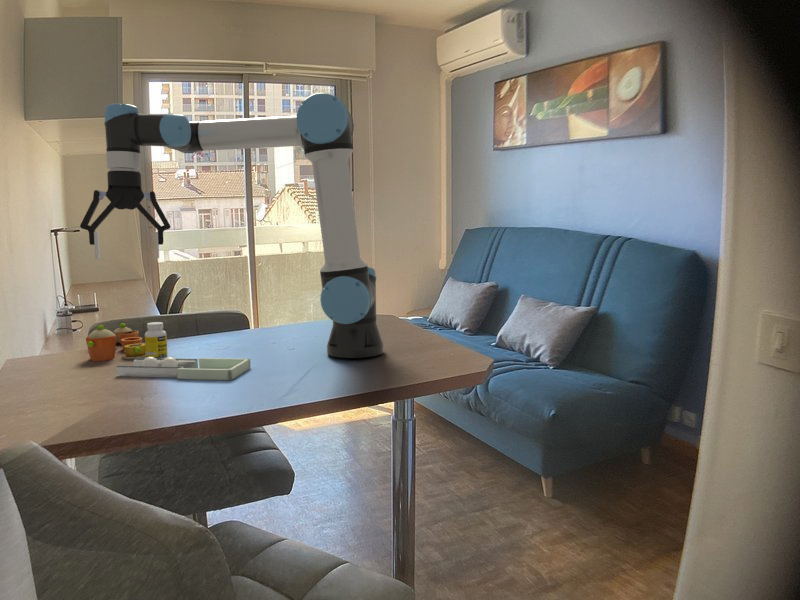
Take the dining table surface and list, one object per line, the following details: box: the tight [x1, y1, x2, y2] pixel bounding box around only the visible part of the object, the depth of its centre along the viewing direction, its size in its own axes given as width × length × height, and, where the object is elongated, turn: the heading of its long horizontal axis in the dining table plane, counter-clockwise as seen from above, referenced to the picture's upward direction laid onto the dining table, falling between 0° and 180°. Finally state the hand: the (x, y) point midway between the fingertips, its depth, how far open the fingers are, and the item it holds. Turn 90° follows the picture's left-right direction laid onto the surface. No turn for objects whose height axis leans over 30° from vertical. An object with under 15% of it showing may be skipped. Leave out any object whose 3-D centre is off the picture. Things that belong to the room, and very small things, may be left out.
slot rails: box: [116, 357, 199, 379], centre depth 153 cm, size 16×9×2 cm, turn 82°
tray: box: [177, 357, 251, 381], centre depth 151 cm, size 13×12×2 cm
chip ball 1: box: [142, 357, 159, 366], centre depth 153 cm, size 4×4×4 cm
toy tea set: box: [85, 322, 146, 362], centre depth 177 cm, size 26×16×10 cm, turn 27°
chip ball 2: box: [161, 356, 178, 367], centre depth 153 cm, size 4×4×4 cm
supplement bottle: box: [144, 321, 168, 358], centre depth 168 cm, size 5×5×10 cm
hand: (127, 258), depth 156 cm, fingers open, 13 cm apart
